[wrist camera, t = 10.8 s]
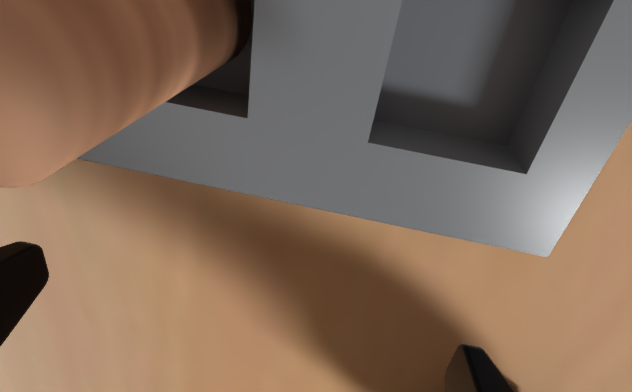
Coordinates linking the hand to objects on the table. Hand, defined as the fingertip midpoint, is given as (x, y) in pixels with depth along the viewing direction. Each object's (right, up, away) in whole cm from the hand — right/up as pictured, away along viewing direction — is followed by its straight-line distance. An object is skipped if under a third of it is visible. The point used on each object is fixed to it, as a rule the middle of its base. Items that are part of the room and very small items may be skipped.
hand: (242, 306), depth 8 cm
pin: (-3, +9, +6) cm, 12 cm away
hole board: (+2, +9, +8) cm, 12 cm away
